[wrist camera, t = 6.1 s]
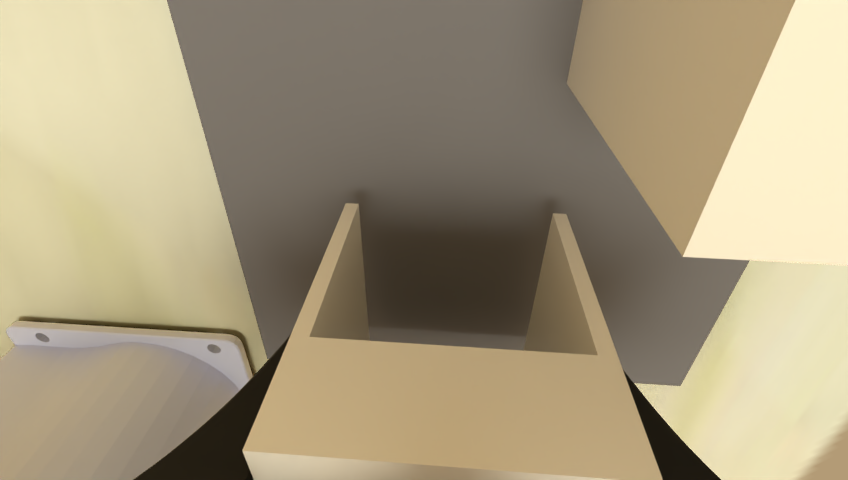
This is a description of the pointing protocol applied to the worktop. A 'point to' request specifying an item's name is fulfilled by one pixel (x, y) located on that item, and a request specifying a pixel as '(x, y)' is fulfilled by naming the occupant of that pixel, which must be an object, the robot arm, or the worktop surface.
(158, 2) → the worktop surface
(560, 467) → the box
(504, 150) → the mat
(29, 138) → the worktop surface
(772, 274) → the worktop surface
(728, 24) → the box
